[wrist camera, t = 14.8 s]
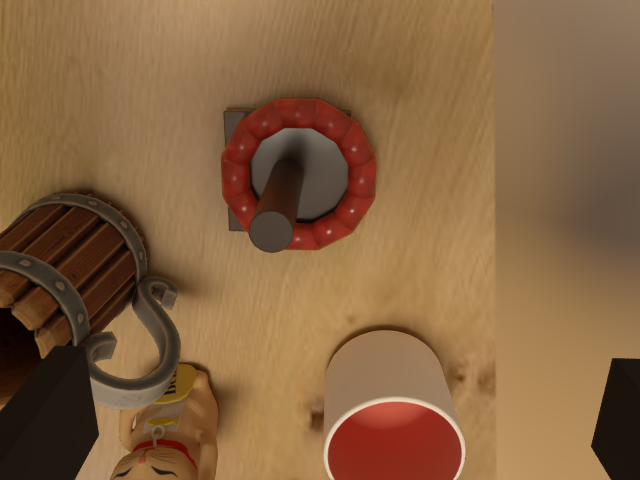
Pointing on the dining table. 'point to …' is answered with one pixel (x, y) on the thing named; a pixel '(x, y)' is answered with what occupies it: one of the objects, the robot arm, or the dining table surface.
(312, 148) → the stand
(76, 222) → the mug
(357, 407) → the cup
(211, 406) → the figurine
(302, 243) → the ring
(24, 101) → the dining table surface
